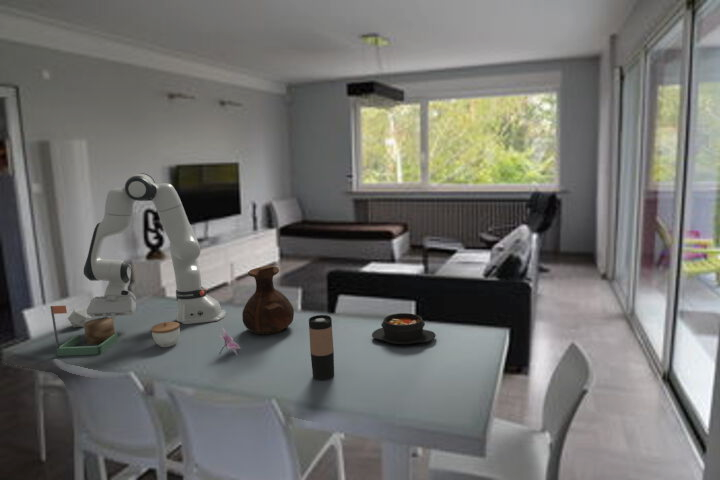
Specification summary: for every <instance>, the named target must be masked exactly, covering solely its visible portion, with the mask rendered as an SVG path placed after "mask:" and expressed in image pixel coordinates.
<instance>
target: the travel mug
mask: <svg viewBox="0 0 720 480" xmlns="http://www.w3.org/2000/svg"><path fill="white" fill-rule="evenodd" d="M332 323H333V321H332V317H331V316H330V315H327V314H318V315H313V316H311V317H309V318H308V330H309V331H308V332H309V348H310V351H309V352H310V358H311V359H310V361H311V371H312V378H313V379H314V380H316V381H320V382H321V381H329V380H332V379H333V378H334V377H335V353H334V352H335V351H334V349H335V348H334V335H333V324H332Z"/></svg>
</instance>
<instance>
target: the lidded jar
mask: <svg viewBox="0 0 720 480" xmlns="http://www.w3.org/2000/svg"><path fill="white" fill-rule="evenodd" d="M180 326H181V325H180V322H178V321H164V322H161V323H160V322H159V323H156V324H155V325H153V326H152V327H150V328H151V329H150V330H151V335H152V339H153V341H154V342H155V344H156V345H158V346H159V348H168V347H169V348H170V347H172V346H175V345H176V343H177V342H178V340H179V338H180V334H181V333H180V332H181V330H180V329H181V328H180Z"/></svg>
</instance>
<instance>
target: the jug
mask: <svg viewBox="0 0 720 480" xmlns="http://www.w3.org/2000/svg"><path fill="white" fill-rule="evenodd" d="M279 272H280V269H279V267H278V266H275V265H267V266H261V267H256V268H253V269H250V270H249V271H248V272H247V274H248V276H249V277H251V278H252V277H253V278H254V280H255V286H256V288H255V292H254V293H253V294H252V295H251V296H250V298H248V300H247V301H246V303H245V305H244V307H243V310H242V313H241V314H242V315H241V316H242V322H243V326H245V328H246V330H249V331H250V332H252V333H253V334H257V335H271V334H276V333H280V332H281V331H283V330H284V329H286V328H288V327H289V326H290V325H291V324H292V322H293V320H294V315H295V314H294V313H295V310H294V307H293V305H292V303H291V302H290V300H289V299H288V297H287V296H286V295H285V294H284V293H282V292H281V291H280V290H278V289H276V288H275V286H274V281H273V279H274V276H276V275H277V274H278V273H279Z"/></svg>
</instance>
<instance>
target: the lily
mask: <svg viewBox="0 0 720 480" xmlns="http://www.w3.org/2000/svg"><path fill="white" fill-rule="evenodd" d="M221 329H222V331H223V335H222V334H219V337H220V338H221V339H222V340H223V341H224V346H223V347H222V348H221V349H220V352H219V355H220V354H221V353H222V351H223V349H224V348H225V347H227V349H228V350H229V349H231V350H232V351H233V353H234V354H235V355H236V356H238V353H237V351H236V349H238V350H242V348H241V347H240V345H239V344H238V343H237V342H235V341H234V339H233V337H232V335H229V333H228V332H227V330H225V329H224V327H221Z"/></svg>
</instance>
